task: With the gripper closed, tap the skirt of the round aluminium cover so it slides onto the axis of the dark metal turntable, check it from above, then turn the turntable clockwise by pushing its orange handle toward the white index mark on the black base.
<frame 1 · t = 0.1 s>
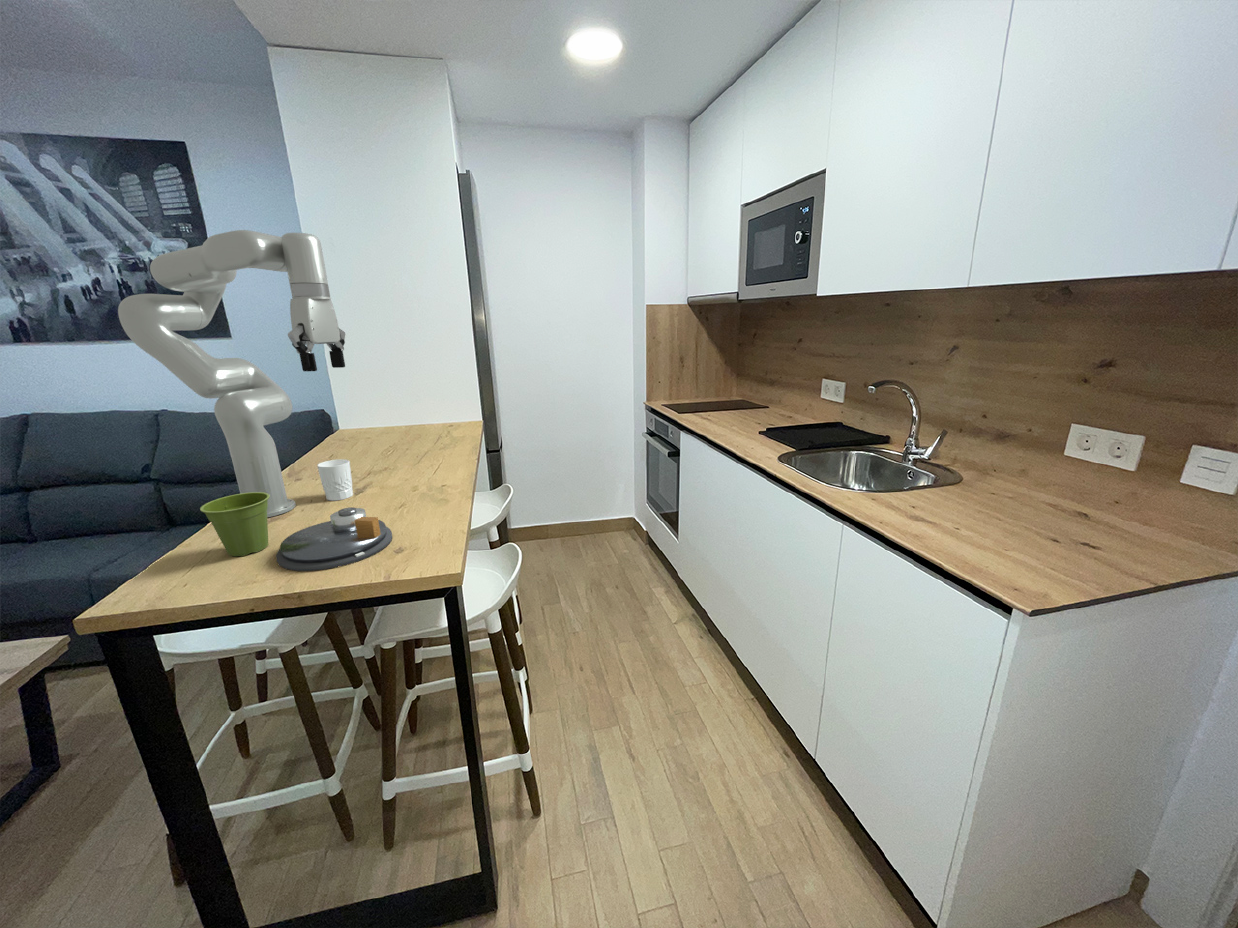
hand: (325, 369, 117), 37 cm above the table, tool pointing down, fingers open, 9 cm apart
plant pot: (248, 550, 107), on the table
white cup: (340, 497, 140), on the table
cover: (350, 525, 111), point 3 cm above the table, touching turntable
turntable base: (337, 546, 107), on the table
turntable: (334, 529, 106), point 4 cm above the table, hinge at 0.0°, touching cover
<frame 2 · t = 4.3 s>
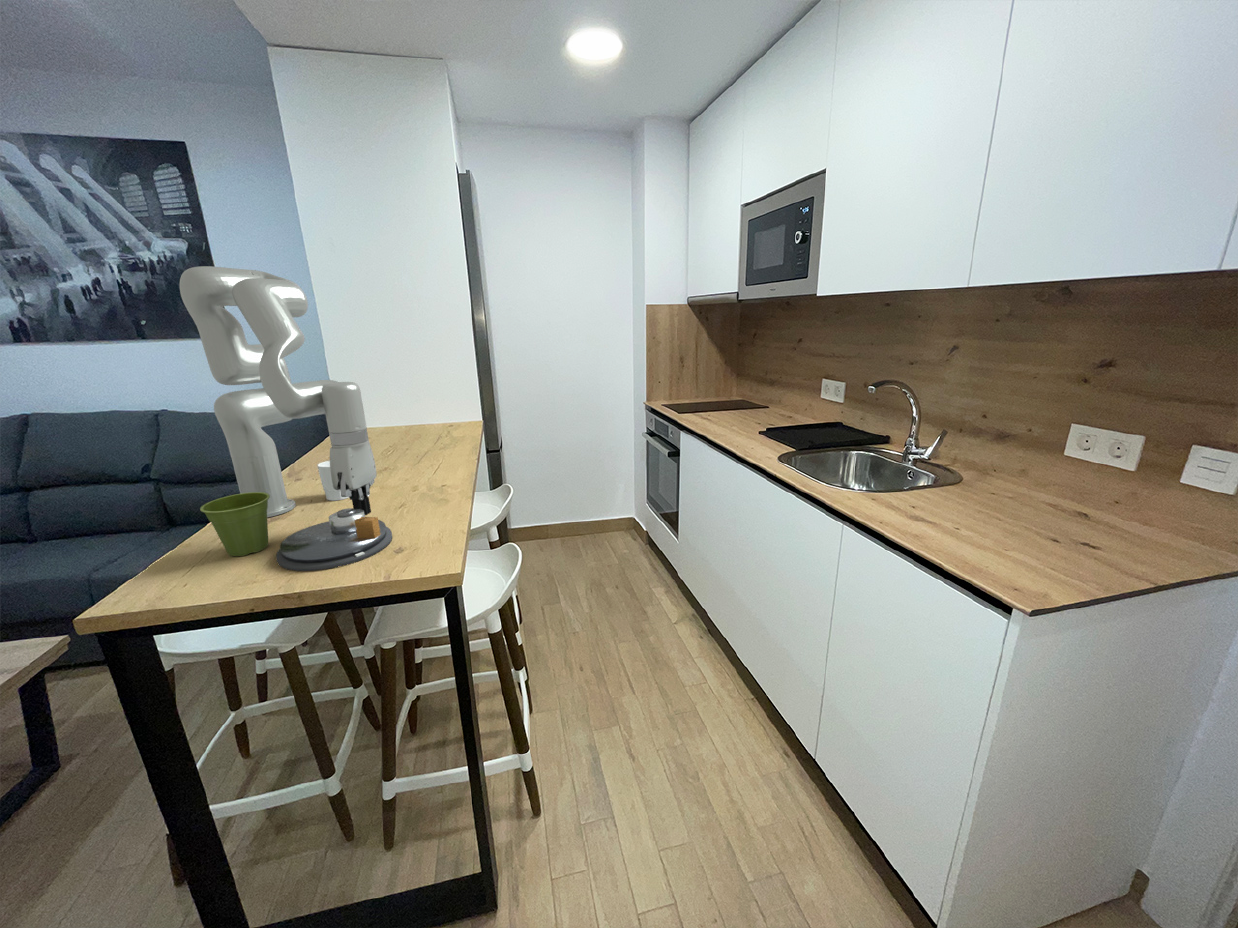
hand: (363, 513, 116), 4 cm above the table, tool pointing down, fingers closed
cover: (348, 526, 111), point 3 cm above the table, touching gripper, turntable
everything else where it was.
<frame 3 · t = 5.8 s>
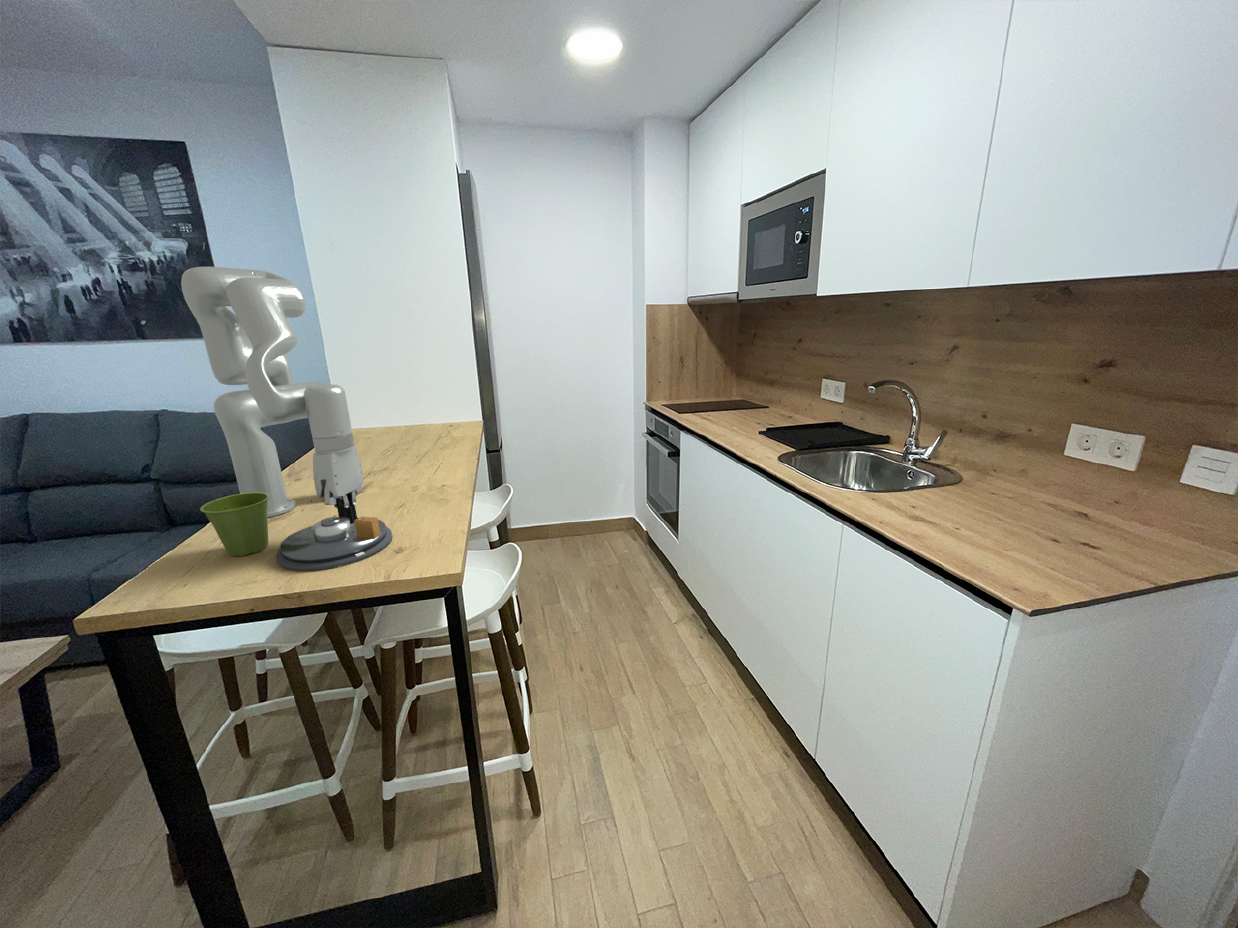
hand: (349, 522, 111), 4 cm above the table, tool pointing down, fingers closed
cover: (333, 536, 106), point 3 cm above the table, touching gripper, turntable
turntable: (334, 529, 106), point 4 cm above the table, hinge at -0.9°, touching cover
everything else where it was.
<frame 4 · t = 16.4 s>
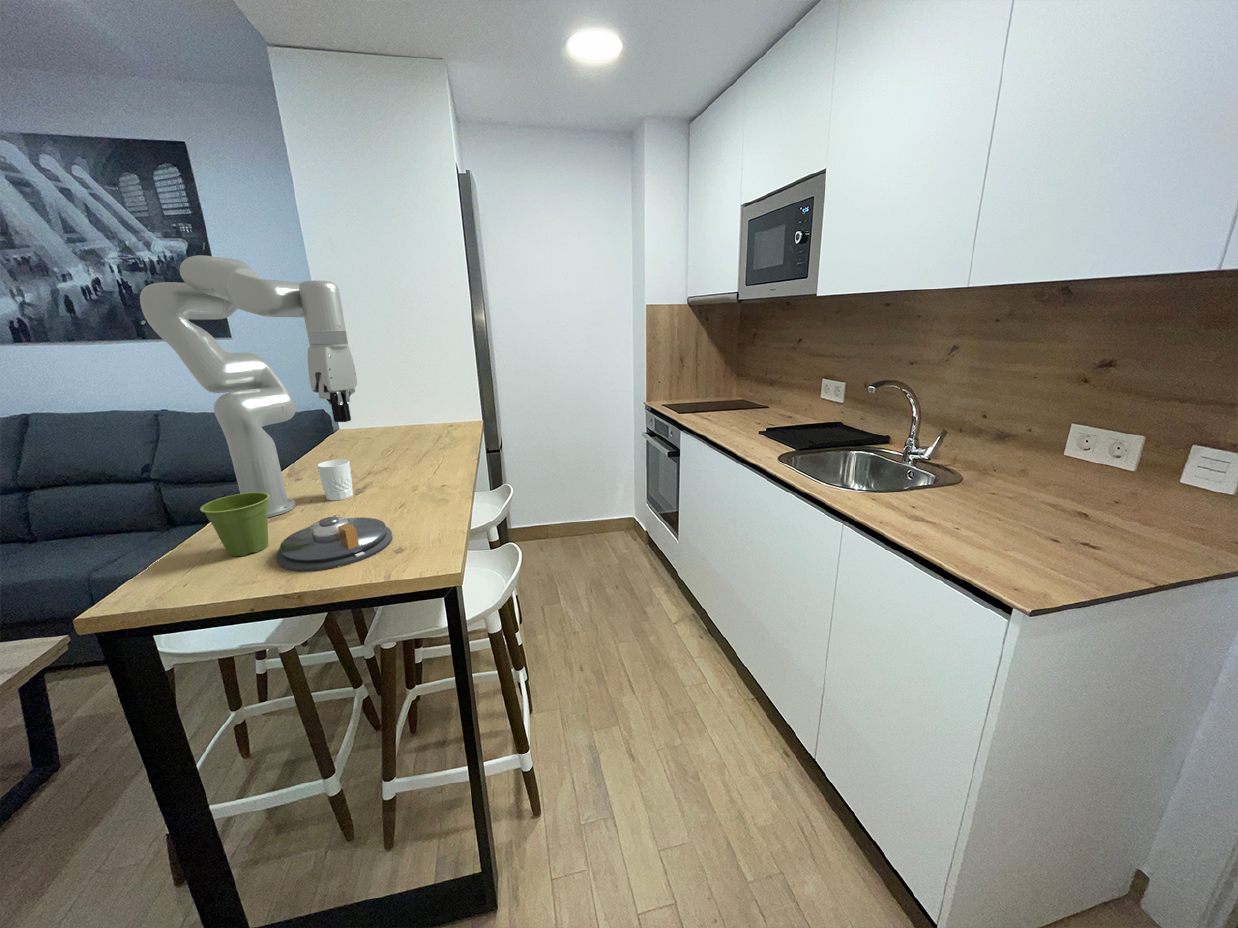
hand: (342, 421, 114), 25 cm above the table, tool pointing down, fingers closed
cover: (331, 536, 106), point 3 cm above the table, touching turntable
turntable: (334, 529, 106), point 4 cm above the table, hinge at -33.9°, touching cover
everything else where it was.
at the end: cover 0.7 cm from the turntable (horizontally); turntable at -34° (first picture: +0°); cover tilted 0° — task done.
